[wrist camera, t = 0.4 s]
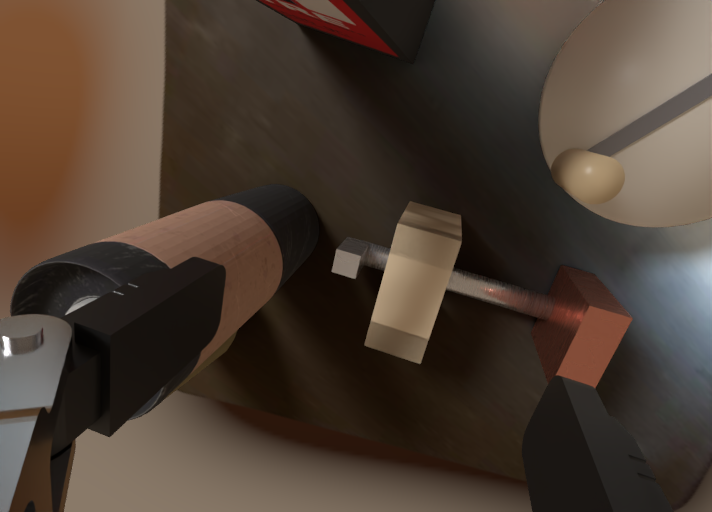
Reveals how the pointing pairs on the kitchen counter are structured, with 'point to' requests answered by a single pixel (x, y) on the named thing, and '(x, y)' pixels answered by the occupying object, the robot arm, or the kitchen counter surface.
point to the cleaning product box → (364, 22)
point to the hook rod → (533, 311)
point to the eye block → (414, 281)
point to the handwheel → (634, 112)
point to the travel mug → (177, 244)
